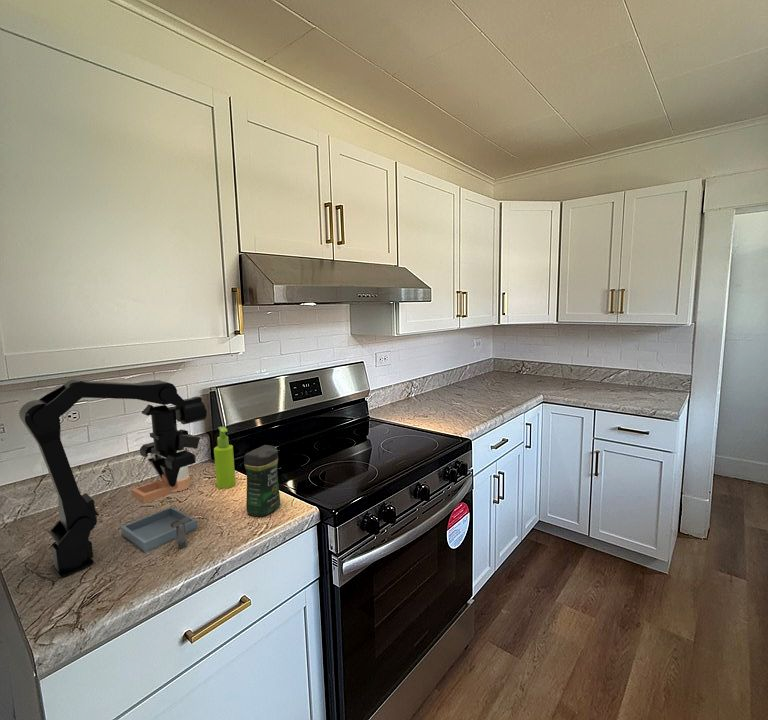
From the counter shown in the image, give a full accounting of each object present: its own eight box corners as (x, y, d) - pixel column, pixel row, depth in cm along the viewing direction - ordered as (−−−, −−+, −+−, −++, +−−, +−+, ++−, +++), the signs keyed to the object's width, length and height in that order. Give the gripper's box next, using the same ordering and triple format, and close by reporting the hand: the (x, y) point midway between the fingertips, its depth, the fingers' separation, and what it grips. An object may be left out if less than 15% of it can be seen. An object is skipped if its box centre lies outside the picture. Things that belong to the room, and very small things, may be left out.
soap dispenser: (219, 491, 136) (214, 431, 133) (215, 484, 141) (210, 426, 139) (238, 487, 139) (234, 428, 136) (233, 480, 144) (229, 423, 142)
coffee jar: (264, 519, 117) (260, 455, 115) (242, 514, 120) (238, 452, 118) (285, 504, 126) (282, 444, 124) (264, 500, 129) (260, 441, 127)
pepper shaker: (181, 481, 144) (176, 427, 142) (195, 485, 141) (190, 429, 138) (161, 489, 138) (155, 433, 135) (175, 494, 134) (170, 436, 132)
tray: (145, 552, 102) (144, 543, 102) (121, 535, 110) (120, 526, 110) (197, 528, 113) (196, 520, 113) (172, 514, 121) (171, 506, 121)
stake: (176, 551, 103) (173, 525, 102) (172, 548, 104) (169, 522, 103) (192, 544, 106) (189, 518, 105) (187, 541, 107) (185, 516, 106)
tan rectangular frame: (143, 503, 104) (142, 488, 104) (131, 496, 109) (130, 481, 108) (181, 490, 112) (180, 475, 111) (168, 483, 116) (167, 469, 116)
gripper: (212, 426, 112) (216, 482, 114) (177, 416, 123) (181, 467, 125) (170, 437, 103) (175, 498, 105) (136, 425, 114) (142, 480, 116)
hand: (169, 484), depth 113 cm, fingers closed on tan rectangular frame, 3 cm apart
